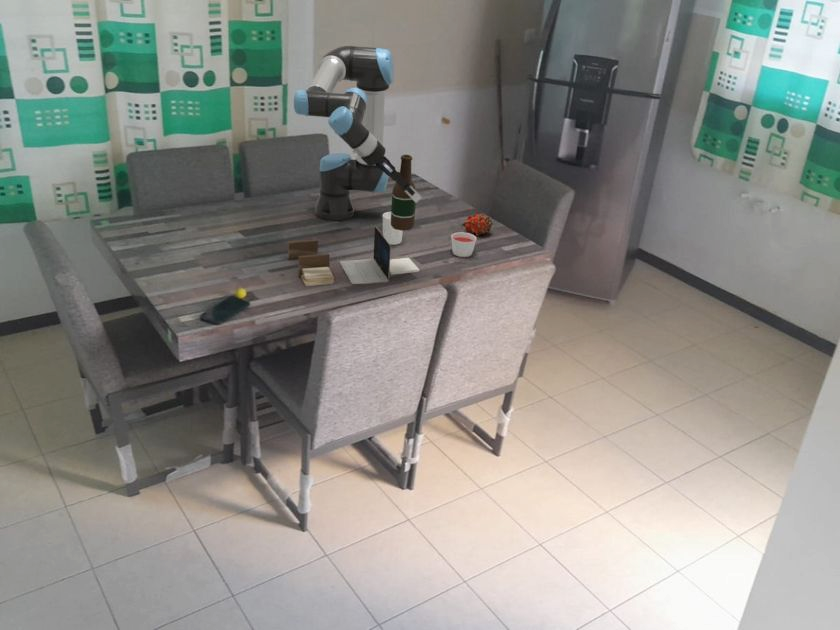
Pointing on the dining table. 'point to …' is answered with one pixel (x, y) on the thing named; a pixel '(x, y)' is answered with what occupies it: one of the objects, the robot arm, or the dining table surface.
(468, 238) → the cup of red liquid
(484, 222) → the dragon fruit
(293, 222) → the dining table surface
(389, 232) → the white cup
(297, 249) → the bookends with books
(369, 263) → the laptop
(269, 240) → the dining table surface
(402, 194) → the beer bottle
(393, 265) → the placing pad
